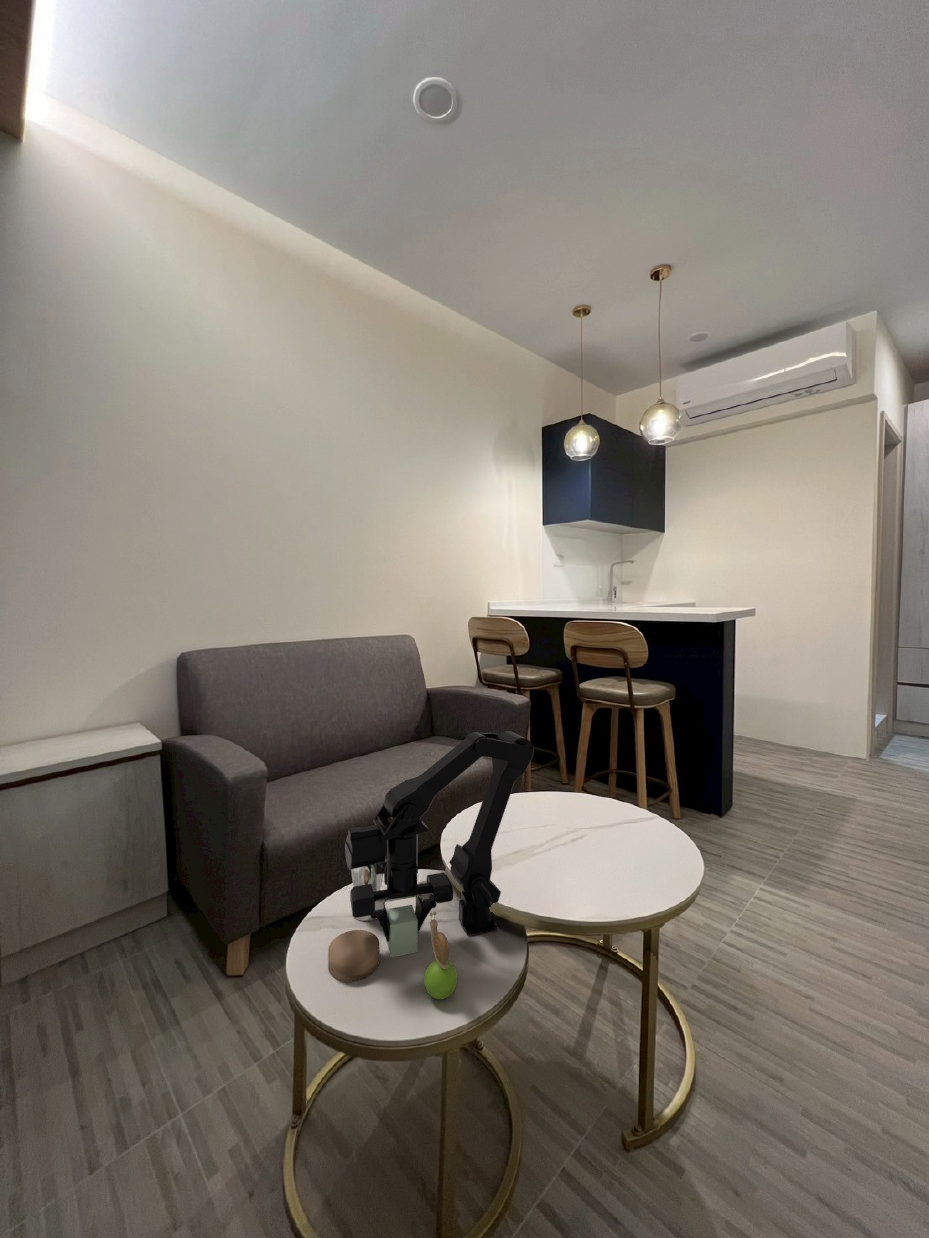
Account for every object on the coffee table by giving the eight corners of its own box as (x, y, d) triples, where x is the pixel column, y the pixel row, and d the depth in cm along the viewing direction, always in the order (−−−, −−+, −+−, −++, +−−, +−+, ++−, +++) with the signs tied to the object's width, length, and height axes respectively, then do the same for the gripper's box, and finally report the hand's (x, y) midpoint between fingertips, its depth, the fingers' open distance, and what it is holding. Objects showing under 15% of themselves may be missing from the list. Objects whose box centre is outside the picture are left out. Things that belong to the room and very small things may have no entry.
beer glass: (351, 925, 100) (352, 852, 100) (349, 905, 107) (349, 836, 106) (386, 919, 102) (386, 847, 102) (382, 899, 109) (382, 832, 108)
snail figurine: (445, 974, 88) (446, 907, 87) (462, 1000, 82) (463, 928, 81) (417, 984, 85) (417, 915, 85) (432, 1012, 79) (432, 938, 79)
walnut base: (375, 941, 96) (376, 926, 96) (382, 975, 87) (382, 958, 87) (327, 950, 93) (327, 934, 93) (329, 986, 84) (329, 969, 84)
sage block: (411, 934, 98) (412, 904, 98) (417, 951, 93) (417, 920, 93) (386, 939, 96) (386, 909, 96) (390, 957, 91) (390, 925, 91)
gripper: (439, 831, 104) (438, 904, 105) (348, 843, 99) (347, 920, 99) (454, 857, 94) (453, 938, 94) (353, 872, 88) (352, 958, 89)
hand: (401, 937), depth 95 cm, fingers closed on sage block, 5 cm apart
